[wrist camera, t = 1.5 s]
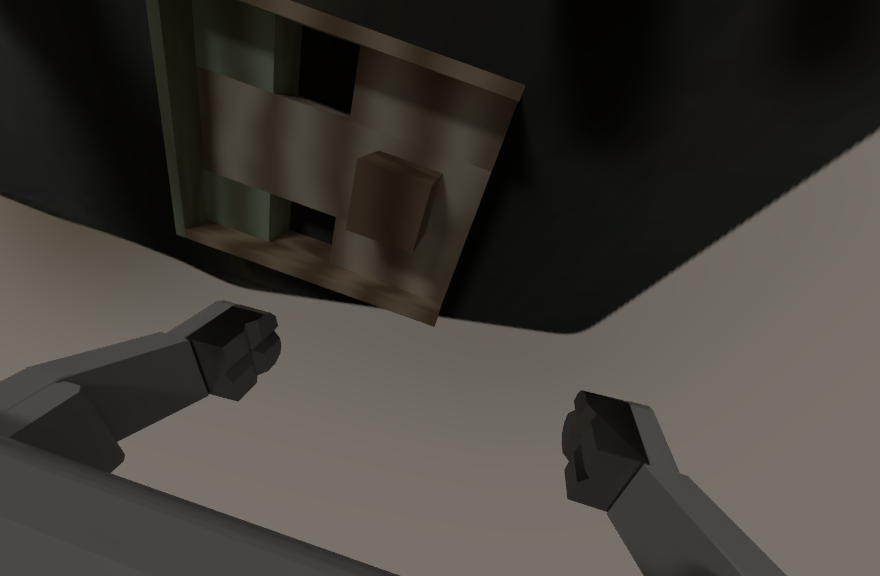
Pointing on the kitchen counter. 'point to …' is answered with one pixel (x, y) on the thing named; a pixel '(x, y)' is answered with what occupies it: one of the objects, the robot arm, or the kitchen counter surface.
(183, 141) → the tray
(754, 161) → the kitchen counter surface
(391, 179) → the walnut block
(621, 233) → the kitchen counter surface
